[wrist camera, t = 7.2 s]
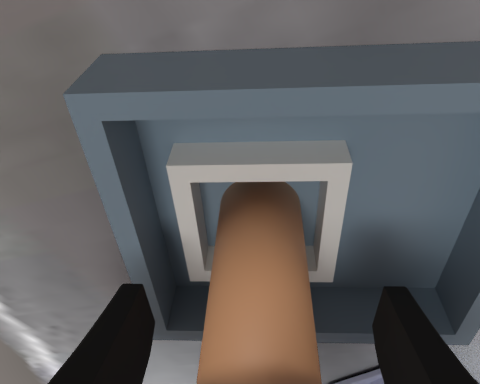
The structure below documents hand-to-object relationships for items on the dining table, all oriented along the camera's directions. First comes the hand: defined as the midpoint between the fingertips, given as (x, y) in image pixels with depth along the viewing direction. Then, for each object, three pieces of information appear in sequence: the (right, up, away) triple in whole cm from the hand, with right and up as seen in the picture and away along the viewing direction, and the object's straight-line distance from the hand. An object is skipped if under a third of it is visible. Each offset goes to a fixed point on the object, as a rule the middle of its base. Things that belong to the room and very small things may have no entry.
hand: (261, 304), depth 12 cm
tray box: (+2, +3, +4) cm, 6 cm away
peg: (0, +3, +4) cm, 5 cm away
